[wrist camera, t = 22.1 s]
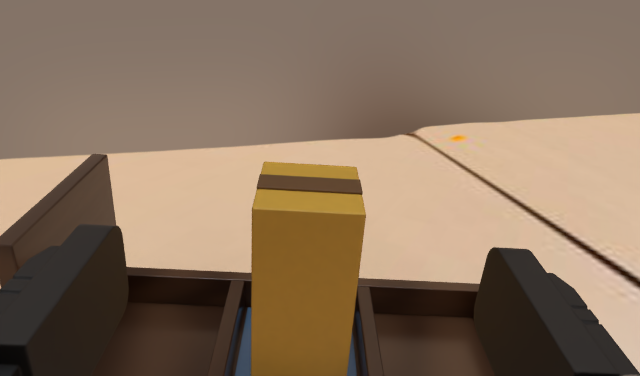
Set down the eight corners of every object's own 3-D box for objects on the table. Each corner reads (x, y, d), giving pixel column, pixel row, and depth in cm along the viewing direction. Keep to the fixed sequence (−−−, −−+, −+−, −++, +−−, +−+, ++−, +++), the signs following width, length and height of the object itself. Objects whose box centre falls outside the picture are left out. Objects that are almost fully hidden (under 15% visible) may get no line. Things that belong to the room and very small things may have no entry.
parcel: (250, 389, 24) (251, 206, 20) (261, 321, 28) (263, 159, 24) (344, 393, 24) (366, 212, 20) (340, 324, 28) (356, 164, 24)
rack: (38, 434, 22) (-12, 244, 18) (113, 303, 30) (92, 153, 26) (538, 451, 23) (605, 275, 19) (478, 320, 31) (515, 177, 27)
